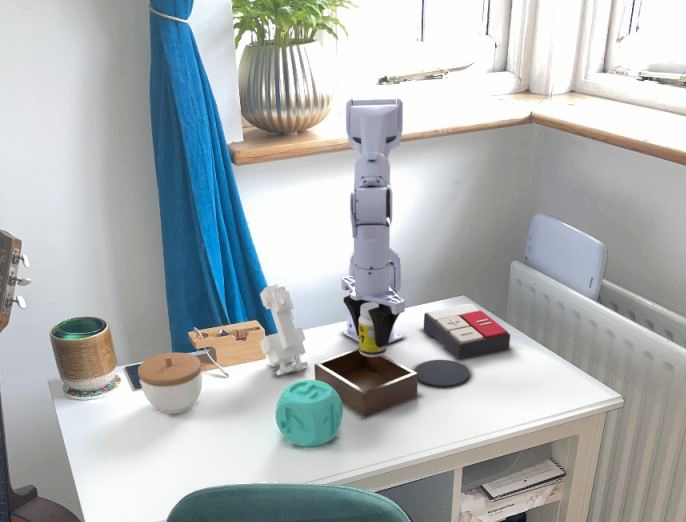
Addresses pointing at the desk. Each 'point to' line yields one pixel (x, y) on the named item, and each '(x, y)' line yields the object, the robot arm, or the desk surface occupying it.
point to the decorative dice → (309, 413)
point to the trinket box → (171, 381)
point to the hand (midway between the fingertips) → (372, 340)
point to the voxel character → (282, 331)
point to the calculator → (466, 331)
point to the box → (367, 381)
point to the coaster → (442, 373)
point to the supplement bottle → (368, 333)
